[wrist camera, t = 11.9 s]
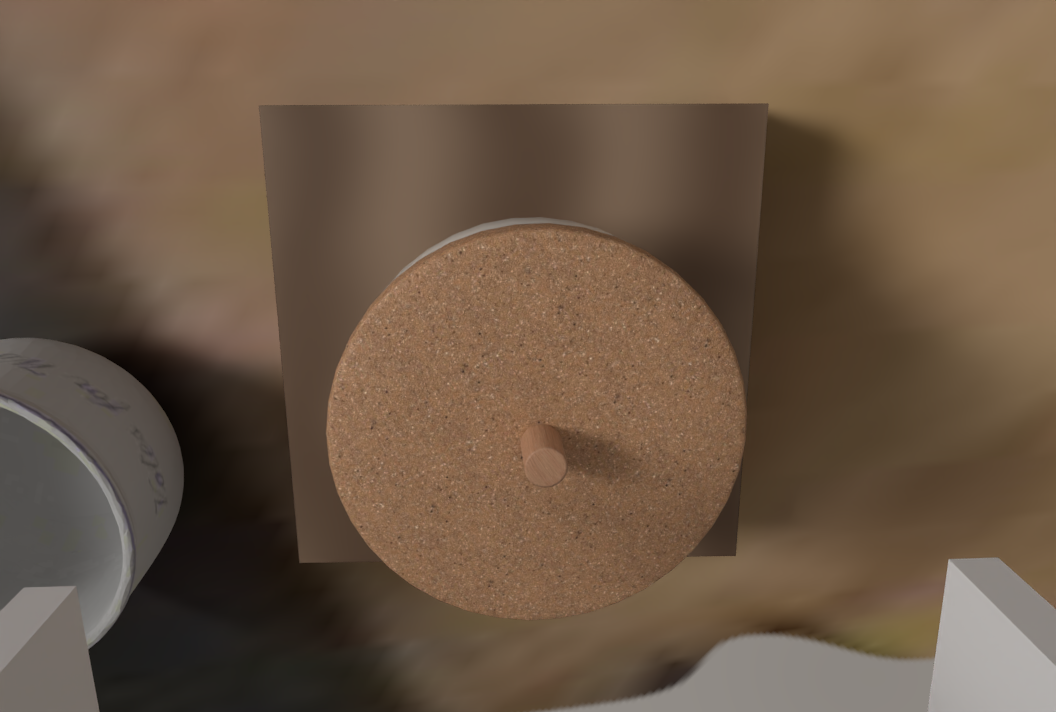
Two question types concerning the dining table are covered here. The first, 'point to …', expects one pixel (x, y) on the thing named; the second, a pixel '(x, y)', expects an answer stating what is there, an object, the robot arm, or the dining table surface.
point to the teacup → (81, 477)
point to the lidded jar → (535, 420)
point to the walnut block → (480, 197)
